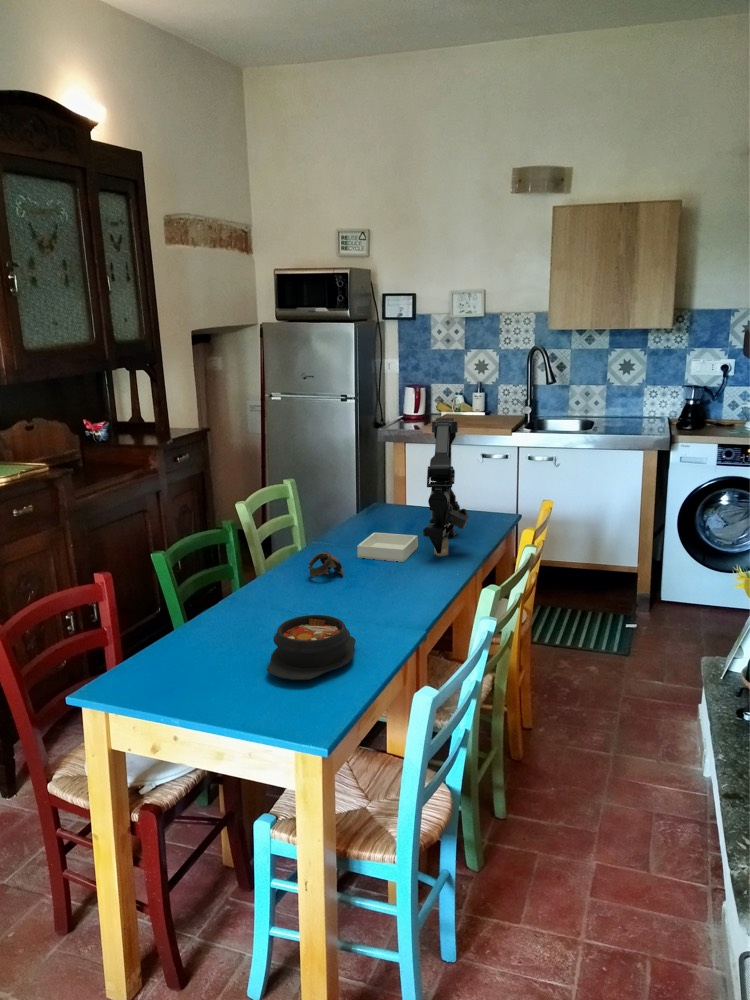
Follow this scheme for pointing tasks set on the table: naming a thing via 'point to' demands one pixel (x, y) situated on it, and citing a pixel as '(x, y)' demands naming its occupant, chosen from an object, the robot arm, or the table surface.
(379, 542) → the gray and white box
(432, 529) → the robot arm
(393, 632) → the table surface
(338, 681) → the table surface
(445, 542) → the wooden cylinder
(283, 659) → the casserole
